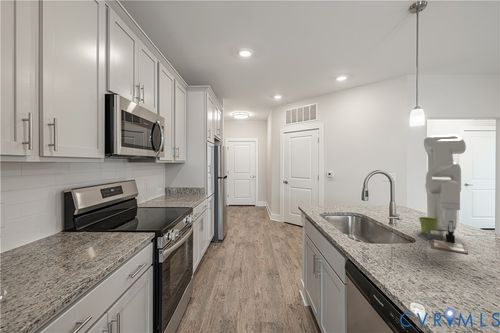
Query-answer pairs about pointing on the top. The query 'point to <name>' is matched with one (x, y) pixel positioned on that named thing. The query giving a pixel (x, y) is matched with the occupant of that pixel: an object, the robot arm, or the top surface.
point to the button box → (434, 236)
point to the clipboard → (449, 246)
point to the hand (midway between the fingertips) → (450, 241)
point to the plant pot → (428, 224)
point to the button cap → (434, 232)
